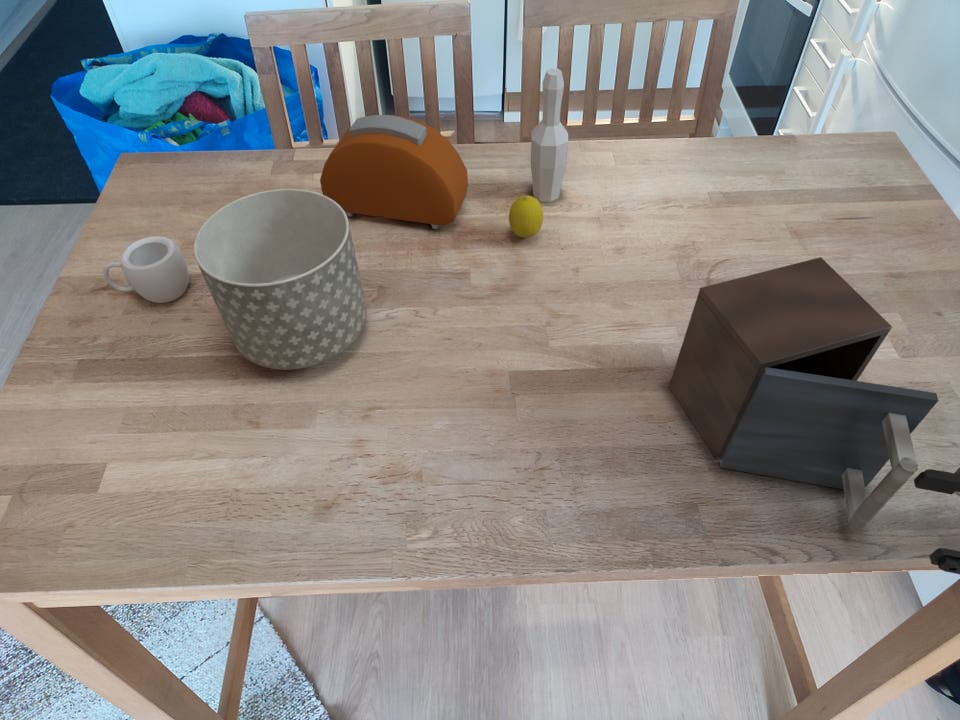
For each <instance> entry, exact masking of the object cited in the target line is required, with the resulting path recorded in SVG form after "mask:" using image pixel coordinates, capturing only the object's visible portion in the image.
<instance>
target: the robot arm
mask: <svg viewBox="0 0 960 720" xmlns="http://www.w3.org/2000/svg"><path fill="white" fill-rule="evenodd" d="M913 483H914V487H915V488H916V489H920V490H925V491H931V492H936V493H942V494H947V495H954V494H955V495H956V496H958V497H959V498H960V467H958V468H957V470H956V471H954V472H950V471H949V472H948V471H943V470H938V469H933V468H929V469H925V470H923V471H921V472H920V473H919V474H918V475H917V476H916V477H915V478H914V479H913ZM929 560H930V564H931V565H933V566H937V567H938V569H939V570H941V571H943V572H944V573H945V572H946V573H949V574H950V573H951V574H954V575H955V574H957V575H960V550H955V549H950V548H945V547H938V548H937V549H935V550H934V551H933V552H932V553H930V554H929Z"/></svg>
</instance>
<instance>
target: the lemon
mask: <svg viewBox="0 0 960 720" xmlns="http://www.w3.org/2000/svg"><path fill="white" fill-rule="evenodd" d="M508 223H509V227H510V229H511V231H512V232H513V233H514V234H515V235H516V236H517V237H520V238H524V239H528V238H532V237H534V236H535V235H537V234H538V233H539V231H540V230H541V229H542V225H543V223H544V210H543V207H542V204H541V201H539V200H538V199H536V198H535V197H534V196H532V195H527V194H526V195H521V196H519V197H517V198H516V199H514V200H513V202H512V204H511V206H510V208H509V213H508Z"/></svg>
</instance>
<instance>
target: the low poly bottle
mask: <svg viewBox="0 0 960 720" xmlns="http://www.w3.org/2000/svg"><path fill="white" fill-rule="evenodd" d="M564 90H565V82H564V77H563V72H562V70H561V69H560V68H552V67H551V68H549V69H547V70H546V71H545V75H544V78H543V80H542V102H543V104H542V119H541V120H540V122H539V123H538V124H536V125H535V127H534V128H533V129H532V130H531V137H530V138H531V140H530V169H531V170H530V171H531V183H532V193H533V194H532V195H533V196H532V197H534V198H536V199H537V200H538V201H539V202H544V203H545V202H546V203H547V202H549V203H550V202H553V201H556V200H557V199H559V198H560V193H561V189H562V185H563V180H564V176H565V172H566V167H567V161H568V153H569V152H568V151H569V132H568V131H567V129H566V128H565V127H564V125H563V124H562V122H561V109H562V102H563V97H564Z"/></svg>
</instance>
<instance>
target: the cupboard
mask: <svg viewBox="0 0 960 720" xmlns="http://www.w3.org/2000/svg"><path fill="white" fill-rule="evenodd" d="M892 329H893V326H892V325H891V324H890V323H889V322H888V320H886V319H885V318H884V317H883V316H882V315H881V314H880V313H879V312H878V311H877V310H876V309H875V308H874V307H872V305H871V304H869V302H868V301H867V300H865V299H864V297H863V296H862V295H861V294H859V292H858V291H856V290H855V289H854V287H852V285H850V284H849V283H848V282H847V280H845V279H844V278H843V277H842V276H841V275H840V274H839V273H838V272H837V271H836V270H835V269H834V268H833V267H831V265H830V264H829V263H828V262H826V260H824V259H823V258H822V257H815V258H812V259H809V260H804V261H801V262H796V263H791V264H789V265H788V264H787V265H784V266H781V267H777V268H773V269H768V270H764V271H760V272H757V273H754V274H750V275H749V274H748V275H745V276H741V277H737V278H734V279H733V278H732V279H730V280H725V281H721V282H718V283H714V284H710V285H706V286H702V287H700V288H699V290H698V293H697V296H696V300H695V303H694V306H693V309H692V312H691V316H690V318H689V322H688V325H687V328H686V331H685V334H684V337H683V340H682V344H681V347H680V350H679V353H678V357H677V359H676V362H675V365H674V368H673V371H672V374H671V378H670V381H669V384H668V388H669V390H670V391H671V393H672V394H673V396H674V397H675V399H676V400H677V402H678V403H679V405H680V407H681V408H682V410H683V411H684V413H685V414H686V416H687V417H688V419H689V420H690V422H691V423H692V425H693V426H694V428H695V430H696V431H697V432H698V434H699V435H700V437H701V438H702V440H703V442H704V443H705V444H706V446H707V447H708V449H709V450H710V452H711V453H712V455H713V456H714V458H715V460H719V459H720V460H721V458H722V456H723V454H724V452H725V450H726V448H727V446H728V444H729V441H730V439H731V437H732V435H733V433H734V431H735V429H736V427H737V425H738V423H739V421H740V419H741V416H742V414H743V412H744V410H745V408H746V406H747V404H748V402H749V400H750V398H751V396H752V394H753V391H754V389H755V387H756V385H757V383H758V381H759V379H760V377H761V375H762V373H763V371H764V369H765V367H768V368H775V369H781V370H788V371H794V372H801V373H808V374H814V375H821V376H827V377H834V378H841V379H847V380H854V381H859V378H860V377H861V375H862V374H863V373H864V371H865V369H867V366H868V365H869V364H870V362H871V361H872V358H873V357H874V356H875V354H876V353H877V351H879V348H880V347H881V345H882V344H883V342H884V341H885V339H886V337H887V336H888V334H889V333H890V331H891V330H892Z"/></svg>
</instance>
